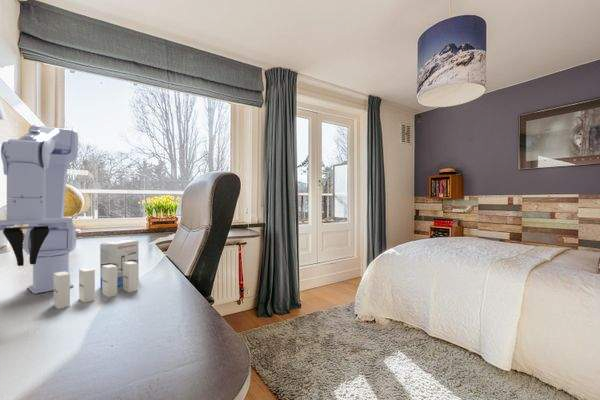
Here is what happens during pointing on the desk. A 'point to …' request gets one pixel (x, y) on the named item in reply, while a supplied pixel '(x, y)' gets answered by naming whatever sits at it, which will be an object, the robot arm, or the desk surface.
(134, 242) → the ink box
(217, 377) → the desk surface
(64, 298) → the domino
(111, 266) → the domino
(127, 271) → the domino
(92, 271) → the domino
